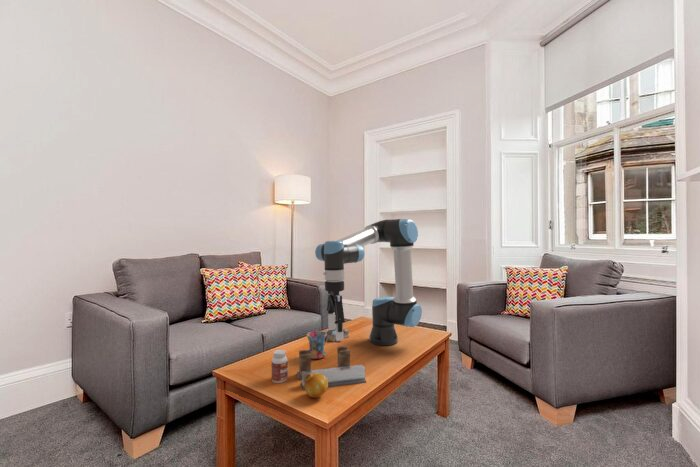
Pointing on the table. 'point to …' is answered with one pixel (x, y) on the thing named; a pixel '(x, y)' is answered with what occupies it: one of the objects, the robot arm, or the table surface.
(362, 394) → the table surface
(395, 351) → the table surface
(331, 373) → the rail
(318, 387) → the fruit
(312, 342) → the mug
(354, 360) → the table surface
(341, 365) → the stand
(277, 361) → the pill bottle
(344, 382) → the felt mat
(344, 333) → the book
